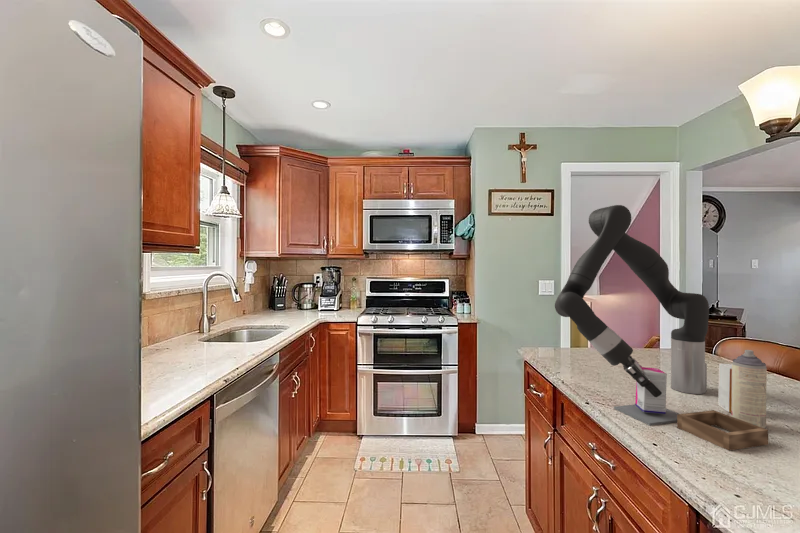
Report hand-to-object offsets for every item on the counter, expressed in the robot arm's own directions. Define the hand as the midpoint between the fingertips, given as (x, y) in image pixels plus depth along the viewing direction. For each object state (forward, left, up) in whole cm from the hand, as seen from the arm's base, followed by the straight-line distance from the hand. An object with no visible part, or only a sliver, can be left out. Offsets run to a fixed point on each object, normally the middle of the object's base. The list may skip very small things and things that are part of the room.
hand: (657, 391), depth 106 cm
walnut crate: (-4, +14, -7) cm, 16 cm away
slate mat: (+1, -1, -7) cm, 7 cm away
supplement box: (+1, -1, -6) cm, 6 cm away
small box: (-27, +3, -7) cm, 28 cm away
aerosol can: (-18, +11, -7) cm, 22 cm away
